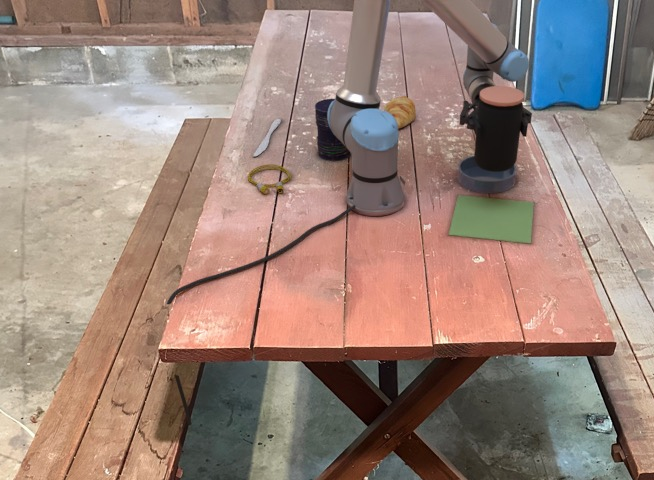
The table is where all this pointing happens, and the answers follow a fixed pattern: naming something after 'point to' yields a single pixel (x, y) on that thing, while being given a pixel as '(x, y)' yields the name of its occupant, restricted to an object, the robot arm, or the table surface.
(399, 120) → the croissant
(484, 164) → the coffee jar
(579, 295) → the table surface
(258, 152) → the butter knife
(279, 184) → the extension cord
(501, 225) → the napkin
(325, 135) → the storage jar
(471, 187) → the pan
